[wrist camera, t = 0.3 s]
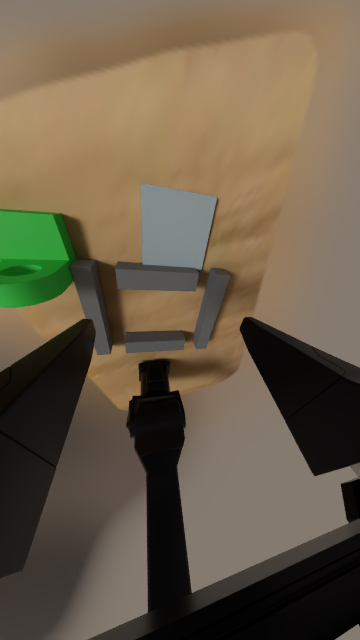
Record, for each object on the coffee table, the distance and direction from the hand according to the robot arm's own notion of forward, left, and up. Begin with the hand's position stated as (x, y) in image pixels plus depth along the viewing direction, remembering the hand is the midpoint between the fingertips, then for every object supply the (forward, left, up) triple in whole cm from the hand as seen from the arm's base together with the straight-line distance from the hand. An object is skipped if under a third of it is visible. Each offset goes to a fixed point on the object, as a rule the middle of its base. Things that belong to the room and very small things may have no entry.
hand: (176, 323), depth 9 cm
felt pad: (+3, -2, -14) cm, 14 cm away
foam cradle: (-8, 0, -14) cm, 16 cm away
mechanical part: (0, +16, -14) cm, 21 cm away
